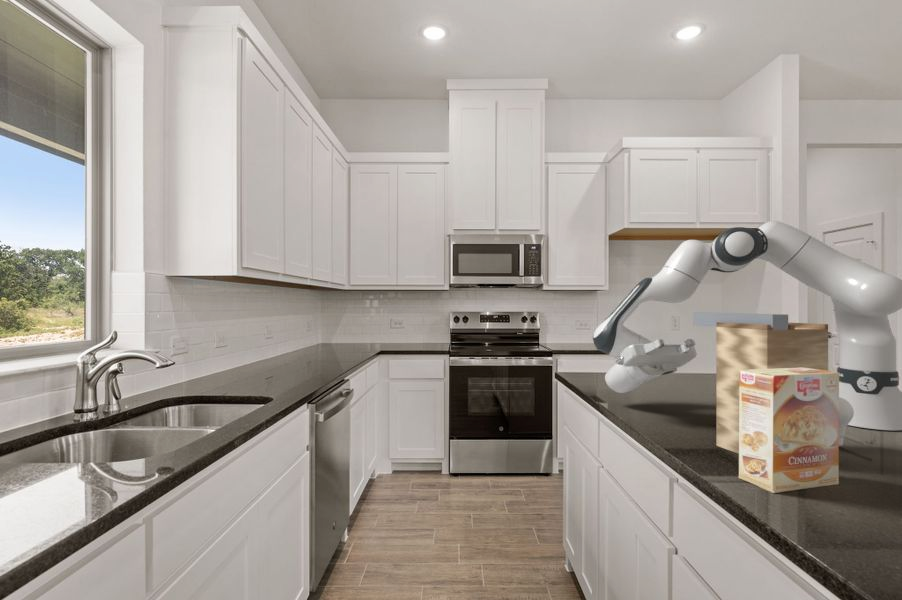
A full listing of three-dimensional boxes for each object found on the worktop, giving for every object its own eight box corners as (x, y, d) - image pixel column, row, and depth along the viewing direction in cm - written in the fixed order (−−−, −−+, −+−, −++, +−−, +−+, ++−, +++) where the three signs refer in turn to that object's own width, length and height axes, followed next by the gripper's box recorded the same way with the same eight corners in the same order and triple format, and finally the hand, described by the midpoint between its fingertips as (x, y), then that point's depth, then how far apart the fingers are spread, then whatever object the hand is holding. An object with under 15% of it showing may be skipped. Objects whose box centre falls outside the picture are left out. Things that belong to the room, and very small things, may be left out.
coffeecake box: (774, 494, 75) (774, 374, 76) (736, 478, 82) (736, 368, 82) (841, 485, 79) (841, 371, 80) (800, 470, 86) (800, 366, 86)
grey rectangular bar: (693, 325, 109) (693, 312, 109) (706, 325, 110) (706, 312, 110) (772, 330, 90) (772, 314, 90) (788, 329, 91) (788, 314, 91)
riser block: (716, 445, 101) (716, 322, 101) (772, 440, 105) (772, 321, 106) (767, 464, 90) (767, 324, 90) (828, 456, 94) (828, 324, 94)
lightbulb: (821, 448, 99) (820, 397, 99) (814, 441, 105) (814, 392, 105) (857, 453, 96) (857, 400, 96) (849, 445, 102) (849, 395, 102)
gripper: (609, 353, 127) (638, 330, 116) (671, 351, 133) (704, 330, 121) (615, 374, 124) (646, 354, 113) (679, 372, 130) (714, 352, 118)
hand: (677, 341), depth 117 cm, fingers open, 8 cm apart
